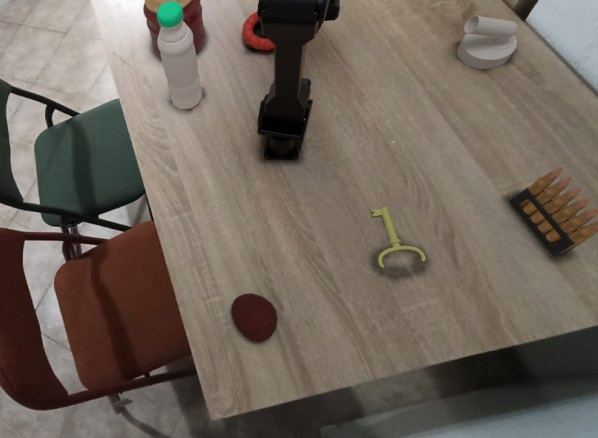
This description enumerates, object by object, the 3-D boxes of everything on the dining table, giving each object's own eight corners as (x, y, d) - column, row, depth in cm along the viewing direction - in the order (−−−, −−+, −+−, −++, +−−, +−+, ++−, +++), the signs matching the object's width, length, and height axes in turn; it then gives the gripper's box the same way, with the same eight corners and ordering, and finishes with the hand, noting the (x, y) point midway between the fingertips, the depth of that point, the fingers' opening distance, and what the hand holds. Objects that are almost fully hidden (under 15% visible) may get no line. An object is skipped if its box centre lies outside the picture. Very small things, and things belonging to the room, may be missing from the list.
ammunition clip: (566, 252, 69) (622, 222, 59) (554, 256, 69) (607, 227, 59) (520, 197, 74) (563, 160, 64) (508, 200, 74) (550, 164, 64)
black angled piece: (249, 51, 102) (249, 25, 95) (251, 25, 105) (251, -2, 98) (286, 48, 99) (288, 22, 93) (287, 22, 102) (289, -5, 96)
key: (381, 207, 79) (385, 202, 77) (429, 265, 74) (434, 261, 72) (345, 225, 80) (347, 221, 78) (390, 284, 74) (393, 280, 72)
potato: (268, 293, 79) (269, 284, 73) (283, 339, 75) (285, 333, 70) (228, 302, 80) (226, 293, 75) (240, 348, 76) (239, 342, 71)
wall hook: (463, 2, 81) (527, -10, 79) (443, 41, 90) (501, 31, 87) (478, 36, 78) (546, 25, 75) (456, 73, 86) (516, 64, 83)
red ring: (239, 53, 101) (239, 45, 99) (245, 14, 105) (245, 6, 103) (294, 51, 97) (295, 43, 95) (297, 11, 101) (298, 2, 99)
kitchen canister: (171, 17, 112) (158, -47, 97) (215, 30, 107) (209, -36, 91) (143, 54, 110) (125, -6, 94) (187, 69, 104) (175, 8, 89)
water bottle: (167, 108, 101) (144, 21, 79) (177, 84, 103) (157, -7, 81) (196, 112, 98) (180, 24, 77) (206, 87, 101) (193, -5, 79)
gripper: (383, -27, 66) (361, 50, 80) (376, -105, 74) (357, -22, 87) (304, -19, 70) (296, 54, 84) (305, -93, 77) (297, -15, 91)
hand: (313, 16), depth 86 cm, fingers open, 9 cm apart
